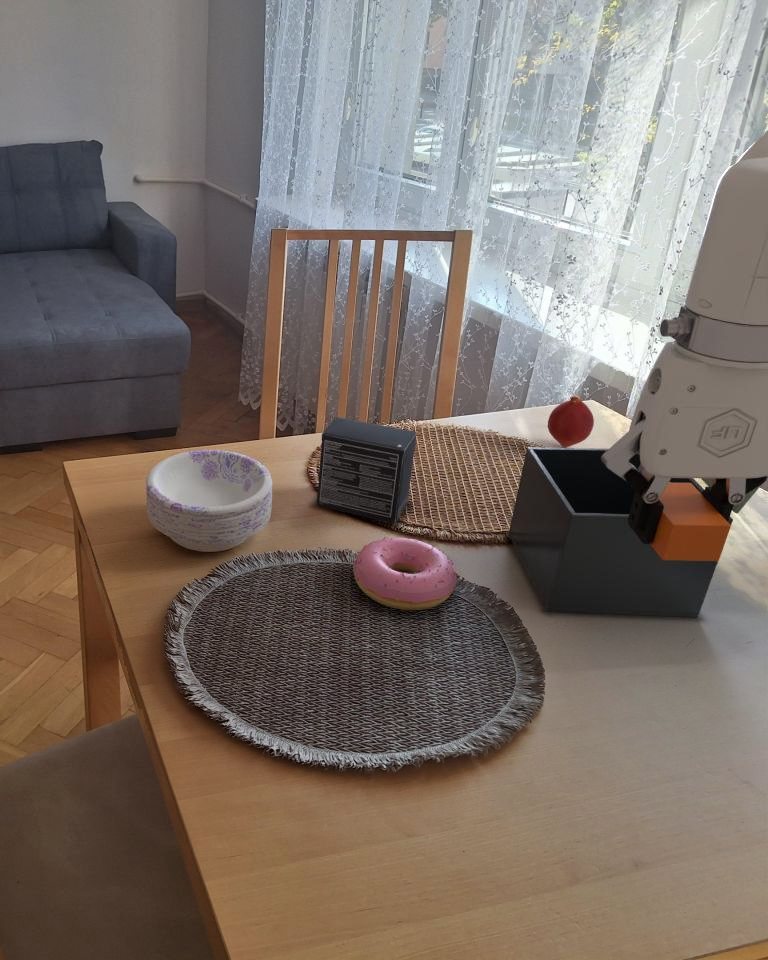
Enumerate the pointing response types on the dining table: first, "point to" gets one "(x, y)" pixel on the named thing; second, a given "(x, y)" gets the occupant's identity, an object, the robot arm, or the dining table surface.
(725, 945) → the dining table surface
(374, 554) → the doughnut
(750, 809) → the dining table surface
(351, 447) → the small box
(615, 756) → the dining table surface
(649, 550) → the bin
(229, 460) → the paper bowls
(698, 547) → the block
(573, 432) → the onion
